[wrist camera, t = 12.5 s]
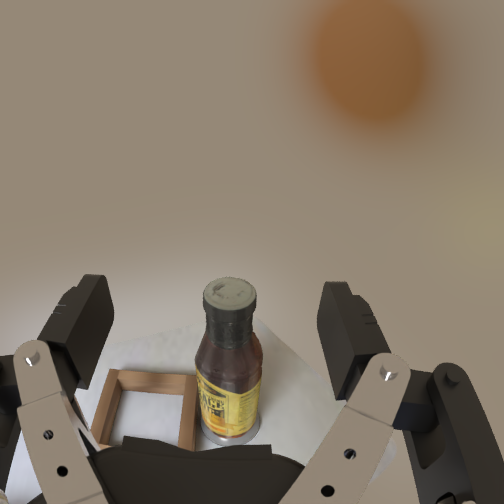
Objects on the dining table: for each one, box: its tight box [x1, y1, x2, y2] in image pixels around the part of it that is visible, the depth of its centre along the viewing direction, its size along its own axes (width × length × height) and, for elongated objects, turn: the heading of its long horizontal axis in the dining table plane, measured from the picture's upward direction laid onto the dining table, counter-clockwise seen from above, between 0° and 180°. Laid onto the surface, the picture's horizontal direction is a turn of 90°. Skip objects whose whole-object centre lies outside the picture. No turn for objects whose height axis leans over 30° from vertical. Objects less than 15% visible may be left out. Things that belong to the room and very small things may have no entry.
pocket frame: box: [90, 369, 199, 452], centre depth 33 cm, size 12×13×2 cm
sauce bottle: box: [195, 277, 263, 439], centre depth 29 cm, size 6×6×20 cm
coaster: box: [201, 412, 260, 447], centre depth 35 cm, size 7×7×1 cm
